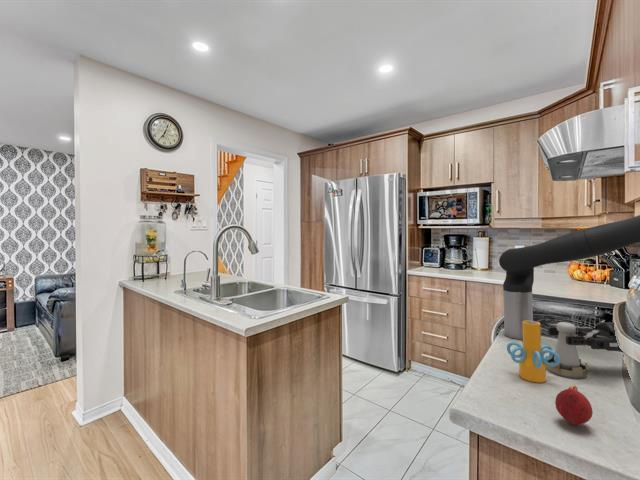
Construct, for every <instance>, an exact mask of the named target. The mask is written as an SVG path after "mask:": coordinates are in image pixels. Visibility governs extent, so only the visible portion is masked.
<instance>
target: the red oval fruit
mask: <svg viewBox="0 0 640 480" xmlns="http://www.w3.org/2000/svg"><path fill="white" fill-rule="evenodd" d="M554 402H555V403H554V404H555V409H556V411H557V412H558V414H559V415H560V417H562V419H564V420H565V421H566V422H567V423H569V424H571V425H572V426H575V427H576V426H579V425H582V424H585V423H587V422H589V421H590V420H591V418H592V417H593V408H592V405H591V402H590V401H589V399H588V398H587V396H586V395H585V394H583V393H582V392H581V391H579V388H578V386H576V385H575V384H570V386H569V387H568V388H565V389H564V390H561V391H560V392H558V394H557V395H556V398H555V401H554Z"/></svg>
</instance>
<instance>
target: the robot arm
mask: <svg viewBox="0 0 640 480" xmlns="http://www.w3.org/2000/svg"><path fill="white" fill-rule="evenodd" d="M638 243H640V214H639V215H636V216H633V217H631V218H626V219H622V220H617V221H613V222H608V223H604V224H600V225H595V226H591V227H586V228H584V229H578V230H577V231H572V232H569V233H565V234H563V235H560V236H559V235H558V236H557V237H554V238H552V239H549V240H546V241H544V242H541V243H538V244H534V245H528V246H523V247H516V248H514V247H513V248H509V249H507V250H504V252H503V253H501V255H500V257H499V258H498V259H499V260H498V261H499V262H498V263H499V266H500V268H502V269H503V271H504V272H506V275H505V279H504V281H503V285H502V286H503V289H502V290H503V327H504V328H503V330H504V331H503V332H504V335H505V336H506V337H507V338H511V339H515V340H516V339H517V340H523V326H522V321H526V320H528V321H534V317H533V315H534V311H533V310H534V309H533V308H534V305H533V285H534V280H535V279H534V276H535V275H534V274H535V273H534V271H535V268H537V267H540V266H543V265H549V264H557V263H564V262H565V263H566V262H572V261H578V260H585V259H589V258H595V257H599V256H602V255H603V256H604V255H605V254H609V253H612V252H614V251H618V250H621V249H624V248H626V247H628V246H631V245H634V244H638ZM574 325H575V327H576V332H575V333H573V335H574V336H566V344H568V345H576V346H583V347H586V348H588V347H590V348H591V349H592V350H605V351H609V352H622V351H621V349H620V348H619V346H618V343H617V340H616V336H615V330H614V322H610V321H608V322H605V321H603V322H599V323H597V324H596V326H595V327H594V328H593V327H590V326H584V325H582V324H574ZM547 335H549V336H558V335H559V331H558V330H557V326H555V327H553V326H551V327H550V326H549V327H547Z"/></svg>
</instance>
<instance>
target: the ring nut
mask: <svg viewBox="0 0 640 480" xmlns="http://www.w3.org/2000/svg"><path fill="white" fill-rule="evenodd" d="M548 356H549V355H545V357H544V358H546V357H548ZM579 361H580V366H579V367H571V370H566V369H561V365H560V364H559V365H557V366H554V367H552V366H548V365H546V371H548V372H549V373H551V374H553V375H556V376H559V377H562V378H566V379H573V380H574V379H575V380H583V379H587V378H589V365H588V364H589V363H588V362H584V364H583V363H582V360H581V358H579ZM547 362H549V363H555V362H554V355H553V357H552V358H551V359H550V360H548V361H547Z"/></svg>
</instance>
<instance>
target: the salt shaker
mask: <svg viewBox="0 0 640 480" xmlns="http://www.w3.org/2000/svg"><path fill="white" fill-rule="evenodd" d="M575 325H576V324H574V323H570V322H565V321H560V322H557V323H556V327H557V330H558V331H559V335H557V340H556V345H555V350H554V352H556V353H557V354H558V355H559V357H560V363H559V364H560V365H561V369H566V370H571V367H579V366H580V361H579V359H580V356H579V353H578V347H577V345H568V344H566V336H574V335H573V333H575V332H576V327H575ZM554 362H556V357H555V355H554Z"/></svg>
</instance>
